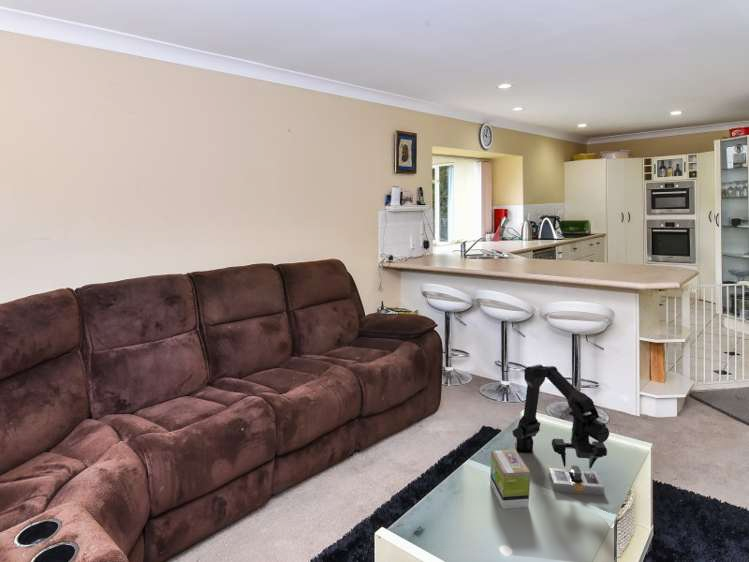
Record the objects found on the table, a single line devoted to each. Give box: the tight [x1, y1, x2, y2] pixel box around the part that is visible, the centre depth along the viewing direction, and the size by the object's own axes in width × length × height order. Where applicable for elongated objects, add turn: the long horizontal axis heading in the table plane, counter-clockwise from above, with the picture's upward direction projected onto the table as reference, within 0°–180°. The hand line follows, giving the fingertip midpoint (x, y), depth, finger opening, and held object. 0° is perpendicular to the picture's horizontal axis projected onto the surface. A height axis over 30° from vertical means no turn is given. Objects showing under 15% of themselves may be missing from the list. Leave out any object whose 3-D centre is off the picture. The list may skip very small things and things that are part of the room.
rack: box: [547, 467, 605, 496], centre depth 192 cm, size 18×10×4 cm, turn 82°
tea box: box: [489, 448, 531, 510], centre depth 185 cm, size 15×10×15 cm, turn 5°
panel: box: [570, 465, 582, 483], centre depth 192 cm, size 2×5×6 cm, turn 172°
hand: (577, 467), depth 191 cm, fingers open, 9 cm apart
